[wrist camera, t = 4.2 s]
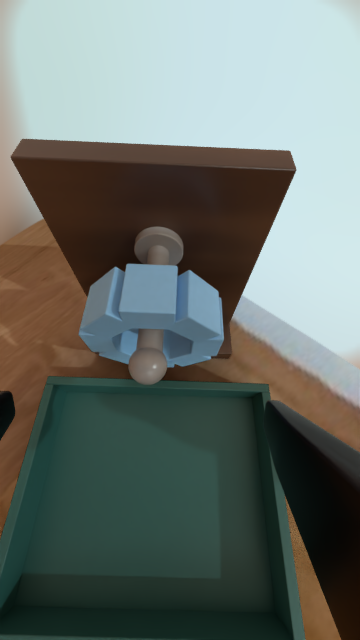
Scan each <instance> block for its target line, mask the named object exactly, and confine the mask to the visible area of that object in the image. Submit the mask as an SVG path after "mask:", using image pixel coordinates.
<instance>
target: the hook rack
mask: <svg viewBox="0 0 360 640" xmlns="http://www.w3.org/2000/svg"><path fill="white" fill-rule="evenodd" d="M11 159H12V161H13V163H14V165H15V167H16V168H17V170H18V172H19V174H20V176H21V177H22V179H23V181H24V183H25V184H26V187H27V188H28V190H29V192H30V194H31V195H32V197H33V199H34V201H35V203H36V205H37V207H38V208H39V210H40V212H41V214H42V216H43V217H44V219H45V221H46V223H47V225H48V227H49V228H50V230H51V232H52V234H53V236H54V237H55V239H56V241H57V243H58V245H59V247H60V248H61V250H62V252H63V254H64V256H65V258H66V259H67V261H68V263H69V265H70V267H71V268H72V270H73V272H74V274H75V276H76V278H77V279H78V281H79V283H80V285H81V287H82V288H83V290H84V292H85V294H86V296H87V298H88V294H89V290H90V286H91V285H93V284H94V283H95V282H96V281H98V280H99V279H100V278H101V277H103V276H104V275H105V274H106V273H108V272H109V271H110V270H112V269H113V268H114V267H117V268H119V269H120V270H122V271H124V272H125V270H126V265H127V264H149V265H173V266H177V267H178V274H177V277H178V276H179V275H181V274H183V273H184V272H186V271H188V270H191V271H192V272H193V273H195V274H196V275H197V276H199V277H200V278H201V279H203V280H204V281H205V282H207V283H208V284H209V285H211V286H212V287H213V288H215V289H216V290H217V291H218V293H219V297H220V298H221V301H222V317H223V333H224V340H223V343H222V345H221V347H220V349H219V351H218V354H217V356H211V358H230V356H231V354H232V349H231V336H230V324H229V323H230V320H231V318H232V316H233V314H234V311H235V309H236V307H237V304H238V302H239V300H240V298H241V295H242V293H243V291H244V288H245V286H246V284H247V282H248V279H249V277H250V275H251V273H252V270H253V268H254V265H255V263H256V261H257V259H258V257H259V254H260V252H261V250H262V247H263V245H264V243H265V241H266V238H267V236H268V234H269V231H270V229H271V227H272V225H273V222H274V220H275V218H276V215H277V213H278V211H279V209H280V206H281V204H282V202H283V199H284V197H285V195H286V193H287V190H288V188H289V186H290V183H291V181H292V179H293V177H294V174H295V172H296V167H295V164H294V161H293V158H292V155H291V152H290V151H282V150H260V149H237V148H216V147H215V148H214V147H193V146H170V145H148V144H125V143H104V142H103V143H102V142H82V141H60V140H59V141H58V140H37V139H22V140H21V141H20V143H19V145H18V146H17V148H16V149H15V151H14V152H13V154H12V155H11ZM163 338H164V329H141V328H139V330H138V338H137V346H136V350H135V351H134V352H133V354H132V355H131V357H130V359H129V364H128V368H129V372H130V375H131V376H132V378H133V379H134V380H135V381H136V382H138V383H140V384H143V385H152V384H155V383H157V382H159V381H160V380H161V379H162V378H163V377H164V375H165V373H166V371H167V359H166V357H165V355H164V353H163ZM95 353H96V354H99V352H95Z"/></svg>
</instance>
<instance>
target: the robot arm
mask: <svg viewBox="0 0 360 640" xmlns="http://www.w3.org/2000/svg"><path fill="white" fill-rule="evenodd" d="M14 416H15V406H14V401H13V395H12V393H11V392H9V391H0V440H1V438H2V437H3V435H4V433H5V432H6V430H7V429H8V427H9V425H10V424H11V422H12V420H13V419H14ZM263 427H264V431H265V434H266V438H267V442H268V445H269V449H270V453H271V456H272V460H273V463H274V467H275V470H276V473H277V475H278V478H279V481H280V483H281V486H282V488H283V491H284V494H285V496H286V499H287V501H288V504H289V506H290V509H291V511H292V514H293V517H294V519H295V522H296V524H297V527H298V529H299V532H300V535H301V537H302V540H303V542H304V545H305V547H306V550H307V553H308V555H309V558H310V560H311V563H312V565H313V568H314V570H315V573H316V576H317V578H318V581H319V583H320V586H321V588H322V591H323V594H324V596H325V599H326V601H327V604H328V606H329V609H330V611H331V614H332V617H333V619H334V622H335V624H336V627H337V629H338V632H339V635H340V637H341V640H360V452H358V451H357V450H355V449H353V448H352V447H350V446H349V445H347V444H346V443H344V442H343V441H341V440H339V439H338V438H336V437H335V436H333V435H332V434H330V433H328V432H327V431H325V430H324V429H322V428H321V427H319V426H318V425H316V424H314V423H313V422H311V421H310V420H308V419H307V418H305V417H303V416H302V415H300V414H299V413H297V412H296V411H294V410H293V409H291V408H289V407H288V406H286V405H285V404H283V403H282V402H280V401H274V400H268V401H267V402H266V405H265V411H264V417H263Z"/></svg>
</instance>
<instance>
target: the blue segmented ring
mask: <svg viewBox="0 0 360 640" xmlns="http://www.w3.org/2000/svg"><path fill="white" fill-rule="evenodd" d="M177 274H178V267H177V266H173V265H149V264H127V265H126V270H125V272H124V271H122V270H120V269H119V268H117V267H114V268H113V269H112V270H110V271H109V272H108V273H106V274H105V275H104V276H103V277H101V278H100V279H99V280H98V281H96V282H95V283H94V284H93V285H91V286H90V290H89V294H88V298H87V302H86V306H85V310H84V314H83V318H82V322H81V326H80V330H79V336H80V337H81V338H82V340H83V341H84V342H85V343H86V345H87V346H88V347H89V349H90V350H91V351H92V352H99V356H103V357H106V358H109V359H112V360H116V361H119V362H122V363H125V364H129V359H130V357H131V355H132V354H133V352H134V351H135V350H136V346H137V338H138V330H139V328H141V329H164V338H163V353H164V355H165V357H166V359H167V367H174V366H175V364H177V365H179V366H182V367H184V366H187V365H191V364H195V363H199V362H203V361H206V360H210V359H211V356H217V354H218V351H219V349H220V347H221V345H222V343H223V340H224V333H223V317H222V301H221V298H220V297H219V293H218V291H217V290H216V289H215V288H213V287H212V286H211V285H209V284H208V283H207V282H205V281H204V280H203V279H201V278H200V277H199V276H197V275H196V274H195V273H193V272H192V271H191V270H188V271H186V272H184V273H183V274H181V275H179V276H178V277H177Z"/></svg>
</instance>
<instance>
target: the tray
mask: <svg viewBox="0 0 360 640" xmlns="http://www.w3.org/2000/svg"><path fill="white" fill-rule="evenodd" d="M268 400H271V398H270V392H269V385H268V384H255V383H227V382H199V381H171V380H160V381H159V382H157V383H155V384H152V385H143V384H140V383H138V382H136V381H135V380H134V379H115V378H87V377H59V376H48V378H47V382H46V385H45V388H44V391H43V395H42V398H41V402H40V405H39V409H38V412H37V415H36V419H35V422H34V426H33V429H32V433H31V436H30V439H29V443H28V446H27V450H26V453H25V457H24V460H23V463H22V467H21V470H20V474H19V477H18V480H17V484H16V487H15V491H14V494H13V498H12V501H11V504H10V508H9V511H8V515H7V518H6V522H5V525H4V528H3V532H2V535H1V539H0V640H305V633H304V626H303V619H302V612H301V606H300V599H299V592H298V585H297V578H296V571H295V564H294V557H293V550H292V543H291V536H290V529H289V522H288V516H287V509H286V502H285V495H284V491H283V488H282V486H281V483H280V481H279V478H278V475H277V473H276V470H275V467H274V463H273V460H272V456H271V453H270V449H269V445H268V442H267V438H266V434H265V431H264V427H263V417H264V411H265V405H266V402H267V401H268Z"/></svg>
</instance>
